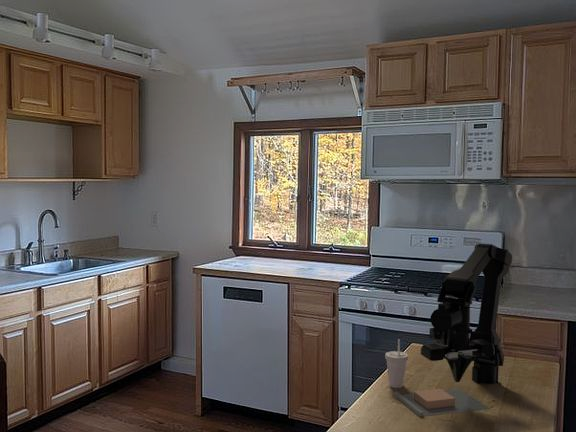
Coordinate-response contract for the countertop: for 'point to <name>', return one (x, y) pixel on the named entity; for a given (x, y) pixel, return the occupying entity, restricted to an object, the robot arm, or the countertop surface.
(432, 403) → the tile
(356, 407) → the countertop surface
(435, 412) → the slate board
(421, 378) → the countertop surface
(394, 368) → the smoothie
